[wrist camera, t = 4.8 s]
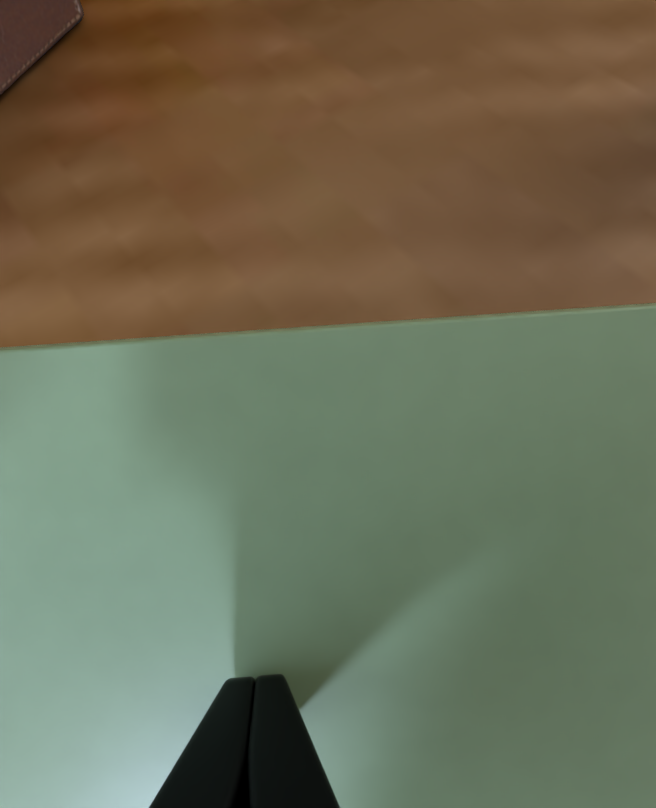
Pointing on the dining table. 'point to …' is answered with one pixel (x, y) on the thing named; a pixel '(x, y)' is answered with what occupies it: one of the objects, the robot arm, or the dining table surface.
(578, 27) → the dining table surface
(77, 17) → the letter holder
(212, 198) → the dining table surface
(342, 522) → the lid
